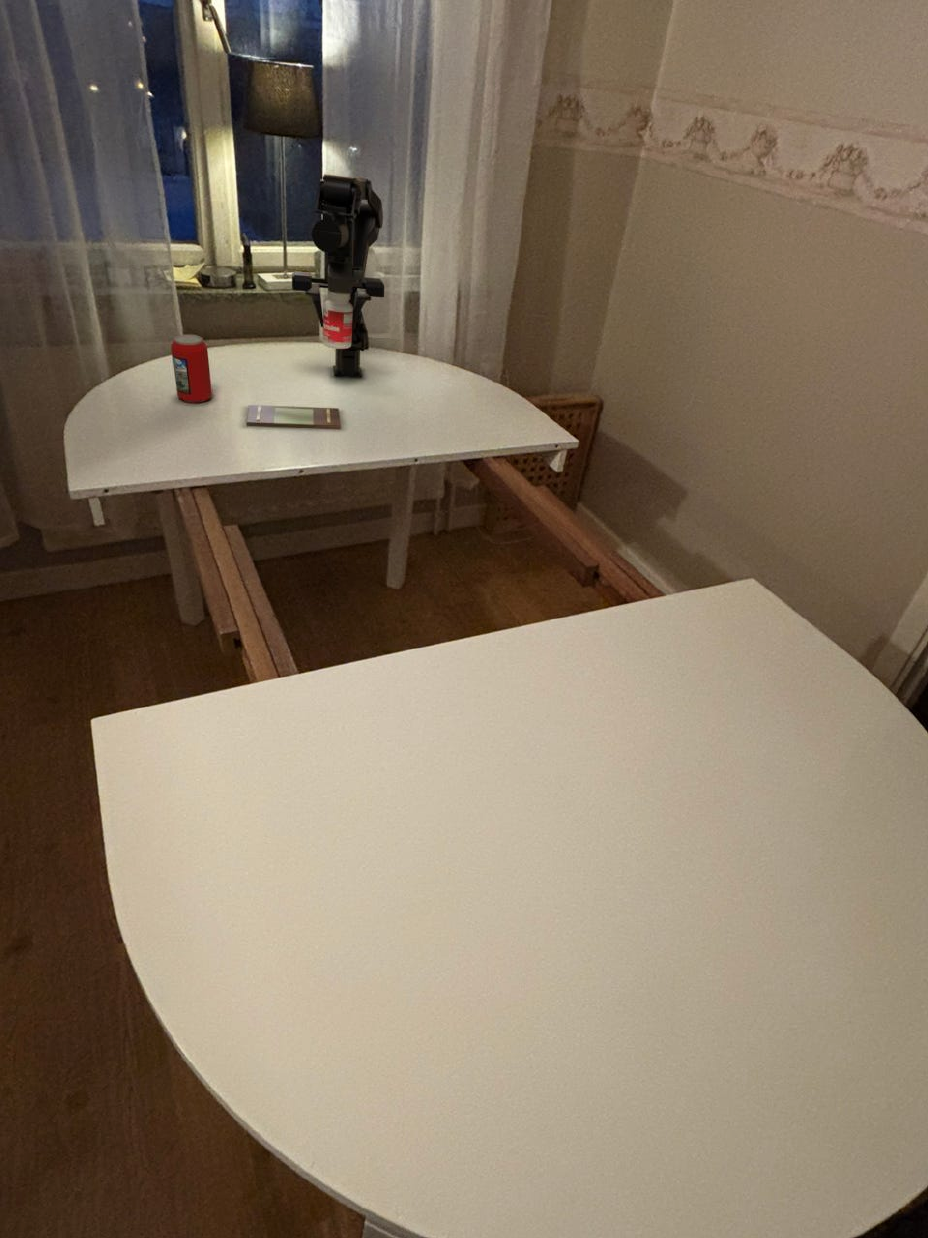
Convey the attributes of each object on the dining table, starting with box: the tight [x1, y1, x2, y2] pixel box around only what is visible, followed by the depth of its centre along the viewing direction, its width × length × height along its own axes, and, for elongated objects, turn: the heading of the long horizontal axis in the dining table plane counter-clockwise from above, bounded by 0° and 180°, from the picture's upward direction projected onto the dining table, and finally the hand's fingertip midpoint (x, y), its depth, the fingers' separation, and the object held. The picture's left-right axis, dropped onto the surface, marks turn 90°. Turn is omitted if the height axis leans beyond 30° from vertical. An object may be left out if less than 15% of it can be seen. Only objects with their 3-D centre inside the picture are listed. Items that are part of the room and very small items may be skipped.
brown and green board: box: [245, 404, 341, 430], centre depth 148 cm, size 9×18×1 cm, turn 100°
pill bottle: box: [321, 289, 353, 349], centre depth 157 cm, size 6×6×11 cm
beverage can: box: [170, 334, 213, 404], centre depth 148 cm, size 7×7×12 cm
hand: (337, 327), depth 158 cm, fingers closed on pill bottle, 6 cm apart
